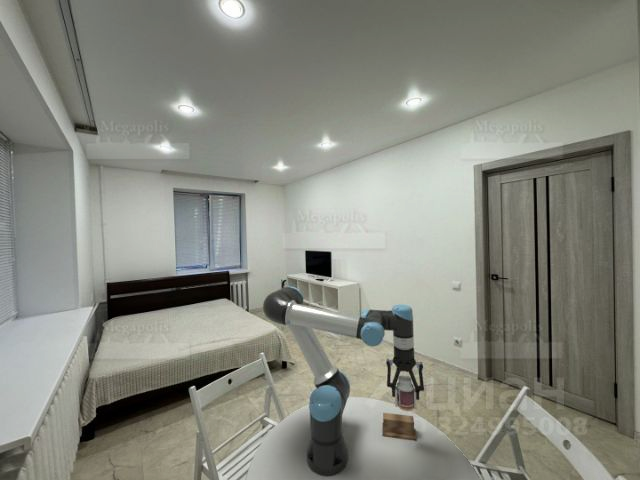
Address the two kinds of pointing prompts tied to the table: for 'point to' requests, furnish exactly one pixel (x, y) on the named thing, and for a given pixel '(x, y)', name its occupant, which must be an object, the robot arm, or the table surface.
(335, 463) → the robot arm
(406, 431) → the brown wooden block
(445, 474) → the table surface
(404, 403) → the pill bottle
